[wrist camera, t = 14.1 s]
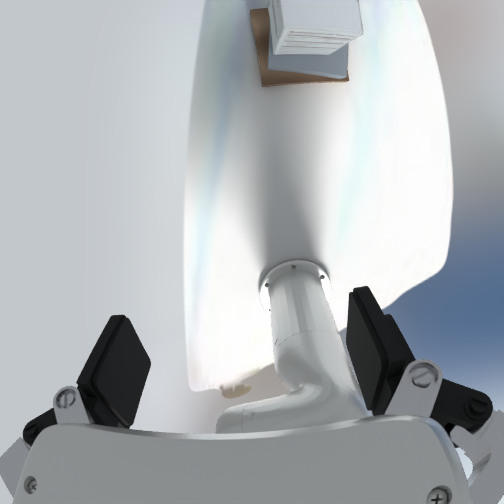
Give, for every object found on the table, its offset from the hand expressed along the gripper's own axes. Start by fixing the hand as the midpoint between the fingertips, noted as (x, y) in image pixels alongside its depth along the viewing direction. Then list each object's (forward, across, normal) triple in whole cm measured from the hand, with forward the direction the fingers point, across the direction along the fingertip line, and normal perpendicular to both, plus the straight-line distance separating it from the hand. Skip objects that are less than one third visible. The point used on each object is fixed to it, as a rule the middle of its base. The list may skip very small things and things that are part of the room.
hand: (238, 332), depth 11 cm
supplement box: (+28, -9, -19) cm, 35 cm away
